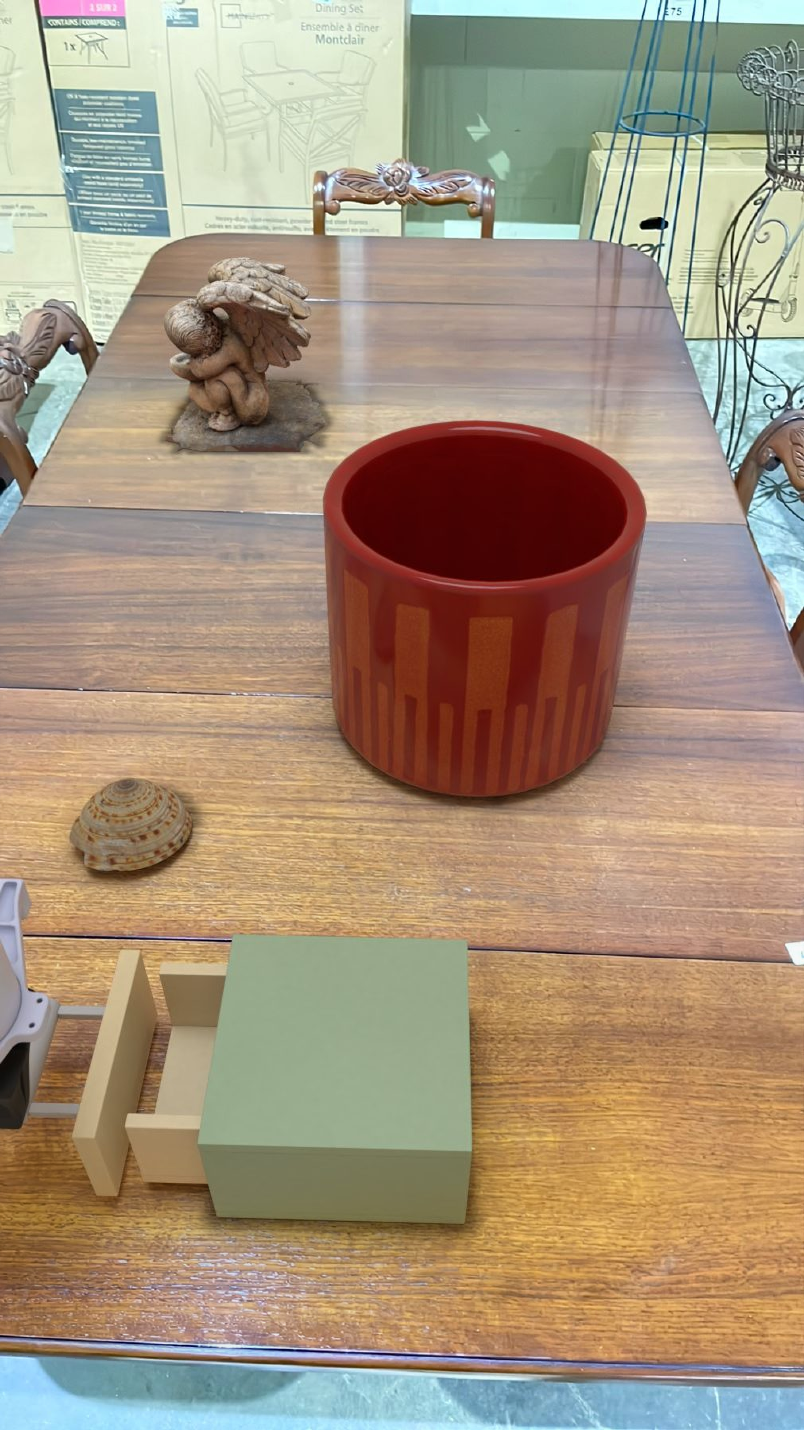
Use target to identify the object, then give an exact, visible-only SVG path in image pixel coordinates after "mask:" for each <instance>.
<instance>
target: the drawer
mask: <svg viewBox="0 0 804 1430" xmlns="http://www.w3.org/2000/svg"><path fill="white" fill-rule="evenodd" d="M227 967H228V963H202V962H201V963H198V962H197V963H195V962H160V966H159V971H158V977H159V980H160V984H161V988H162V992H163V995H164V999H165V1003H166V1007H167V1011H168V1014H169V1018H170V1022H171V1030H170V1035H169V1040H168V1043H167V1044H168V1045H167V1049H166V1053H165V1059H164V1064H163V1069H162V1073H161V1078H160V1082H159V1088H158V1093H157V1098H156V1102H155V1108H154V1113H137V1110H138V1107H139V1106H138V1105H139V1102H140V1097H141V1093H142V1087H143V1083H144V1078H145V1074H146V1069H147V1065H148V1060H149V1055H150V1051H151V1047H152V1043H153V1042H152V1041H153V1038H154V1033H155V1028H156V1023H157V1020H158V1016H159V1015H158V1010H157V1006H156V1003H155V999H154V996H153V995H154V994H153V992H152V988H151V984H150V981H149V976H148V973H147V970H146V965H145V962H144V959H143V955H142V951H141V950H140V949H120V951H119V954H118V957H117V962H116V965H115V968H114V973H113V977H112V980H111V984H110V988H109V992H108V995H107V999H106V1003H105V1006H97V1005H63V1004H61V1002H60V1001H59V1000H57V999H55V998H52V997H49V1000H50V1002H51V1013H50V1016H49V1019H48V1022H47V1026H46V1029H45V1032H44V1034H43V1035H42V1037H41V1038H40V1039H38V1040H37V1041H33V1042H31V1043H30V1053H29V1079H30V1099H29V1105H28V1108H27V1111H26V1115H25V1118H24V1121H23V1125H25V1124H27V1123H28V1122H29V1120H30V1118H42V1119H43V1118H44V1119H45V1118H46V1119H75V1122H74V1126H73V1130H72V1132H71V1139H72V1142H73V1144H74V1146H75V1149H76V1151H77V1153H78V1155H79V1158H80V1160H81V1162H82V1165H83V1168H84V1169H85V1172H86V1174H87V1177H88V1179H89V1181H90V1184H91V1186H92V1189H93V1191H94V1193H95V1195H96V1196H97V1197H118V1196H119V1192H120V1187H121V1183H122V1179H123V1174H124V1170H125V1166H126V1160H127V1157H128V1151H129V1146H130V1147H131V1149H132V1152H133V1155H134V1157H135V1160H136V1163H137V1166H138V1169H139V1172H140V1176H141V1179H142V1181H143V1183H163V1184H164V1183H166V1184H167V1183H169V1184H171V1183H172V1184H203V1185H204V1184H205V1185H206V1184H207V1185H208V1182H207V1178H206V1174H205V1171H204V1167H203V1163H202V1159H201V1155H200V1152H199V1149H198V1145H197V1142H198V1136H199V1130H200V1124H201V1118H202V1112H203V1107H204V1101H205V1095H206V1089H207V1083H208V1078H209V1072H210V1066H211V1060H212V1054H213V1048H214V1043H215V1037H216V1031H217V1025H218V1019H219V1013H220V1008H221V1002H222V996H223V990H224V984H225V978H226V973H227ZM59 1020H77V1021H78V1020H82V1021H101V1022H100V1027H99V1030H98V1035H97V1037H96V1040H95V1041H96V1042H95V1046H94V1050H93V1054H92V1056H91V1059H90V1060H91V1061H90V1064H89V1069H88V1072H87V1076H86V1080H85V1085H84V1087H83V1091H82V1095H81V1099H80V1103H72V1102H71V1103H69V1102H66V1103H65V1102H35V1100H36V1095H37V1093H38V1089H39V1085H40V1082H41V1079H42V1075H43V1072H44V1070H45V1069H44V1068H45V1065H46V1063H47V1059H48V1056H49V1052H50V1048H51V1045H52V1042H53V1038H54V1035H55V1032H56V1028H57V1024H58V1021H59Z"/></svg>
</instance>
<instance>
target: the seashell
mask: <svg viewBox="0 0 804 1430" xmlns="http://www.w3.org/2000/svg"><path fill="white" fill-rule="evenodd" d="M192 828H193V817H192V815H191V814H190V810H189V809H188V806H187V805H186V804H185V803H184V800H183V799H182V798H181V797H180V796H178V795H177V794H176V793H174V792H173V791H172V790H169V788H166V787H165V786H162V785H160V784H158V783H156V782H154V781H151V780H149V779H144V778H137V777H127V778H123V779H119V780H116V781H113V782H110V783H109V784H107V785H105V786H103V787H102V788H101V789H100V790H98V791H97V792H96V793H94V794H93V795H92V796H91V797H90V798H89V799H88V801H86V803H85V804H84V806H83V807H82V809H81V810H80V814H79V815H77V817H76V818H75V819H74V821H73V824H72V825H71V829H70V832H69V837H68V839H69V842H70V844H72V845H73V847H75V848H77V849H79V850H80V851H81V852H83V853H84V854H83V863H84V866H85V867H87V868H89V869H92V870H96V871H104V872H109V871H110V872H111V871H119V872H125V871H128V872H129V871H137V870H140V869H144V868H148V867H151V866H154V865H156V864H158V863H160V862H162V861H165V860H166V859H168V858H169V857H171V856H172V855H174V854H175V853H176V852H177V851H178V850H179V849H181V847H183V845H184V844H185V843H186V841H187V840H188V839H189V837H190V835H191V832H192Z"/></svg>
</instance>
